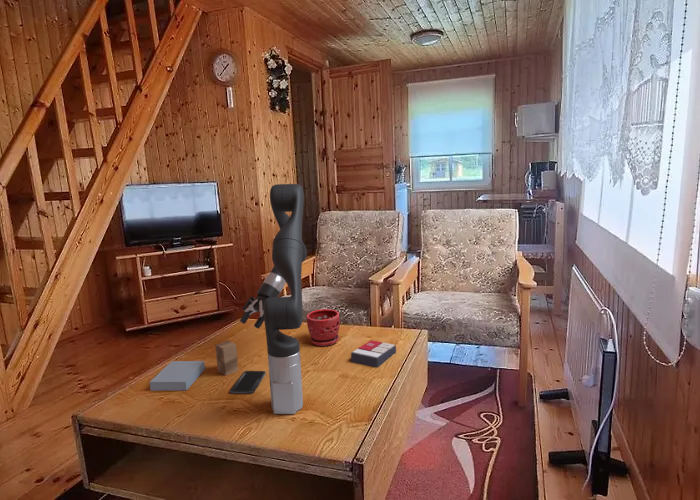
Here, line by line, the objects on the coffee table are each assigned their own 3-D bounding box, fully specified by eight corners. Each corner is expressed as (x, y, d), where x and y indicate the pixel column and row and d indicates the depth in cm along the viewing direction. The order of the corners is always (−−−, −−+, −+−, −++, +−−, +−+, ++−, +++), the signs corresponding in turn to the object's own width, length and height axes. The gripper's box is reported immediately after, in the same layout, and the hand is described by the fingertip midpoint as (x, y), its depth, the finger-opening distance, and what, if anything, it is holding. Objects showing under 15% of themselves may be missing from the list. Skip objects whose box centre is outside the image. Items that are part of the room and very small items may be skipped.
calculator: (396, 343, 170) (377, 356, 157) (396, 354, 170) (377, 368, 158) (370, 339, 176) (350, 350, 163) (370, 349, 176) (350, 362, 164)
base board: (186, 390, 146) (185, 381, 146) (150, 390, 147) (149, 382, 147) (205, 368, 162) (204, 360, 162) (172, 369, 163) (171, 361, 162)
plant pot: (310, 336, 190) (308, 309, 188) (341, 336, 189) (340, 308, 187) (305, 348, 177) (304, 319, 175) (339, 348, 176) (338, 318, 174)
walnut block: (238, 370, 160) (235, 343, 158) (225, 375, 156) (223, 348, 154) (230, 366, 163) (227, 340, 161) (217, 371, 159) (215, 344, 158)
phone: (228, 391, 143) (244, 370, 158) (228, 395, 143) (244, 373, 158) (252, 392, 142) (266, 371, 157) (253, 395, 142) (266, 374, 157)
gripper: (254, 279, 173) (230, 316, 167) (278, 284, 164) (254, 324, 157) (266, 290, 178) (244, 326, 172) (290, 295, 169) (267, 334, 162)
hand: (249, 325), depth 164 cm, fingers open, 8 cm apart
